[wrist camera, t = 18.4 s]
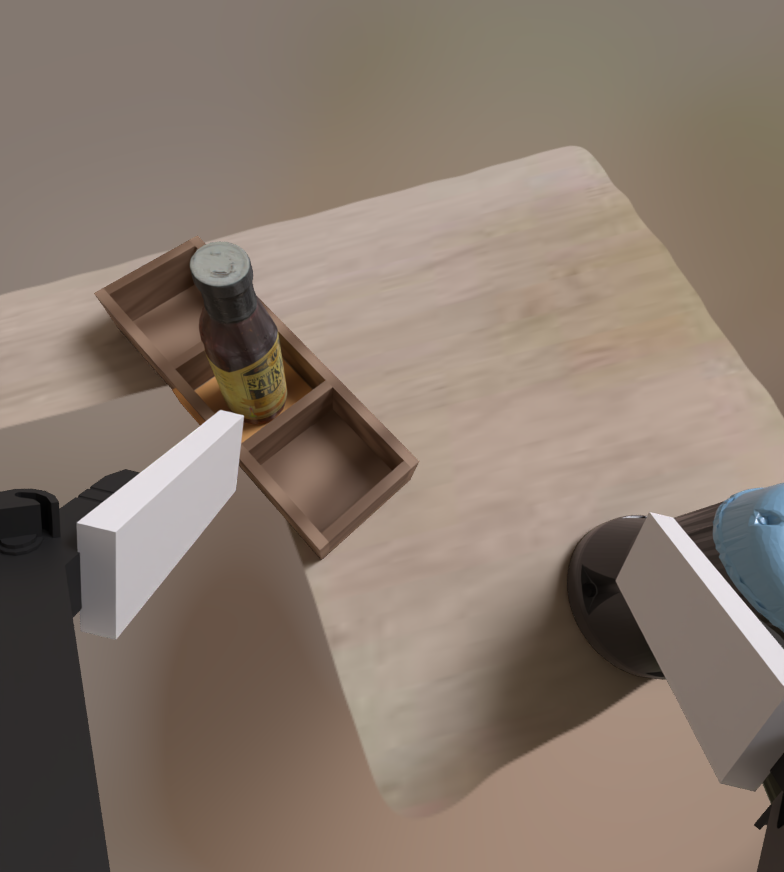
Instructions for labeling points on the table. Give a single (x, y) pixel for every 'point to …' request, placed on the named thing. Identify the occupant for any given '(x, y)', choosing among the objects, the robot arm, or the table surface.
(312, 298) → the table surface
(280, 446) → the wooden compartment tray
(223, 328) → the sauce bottle
